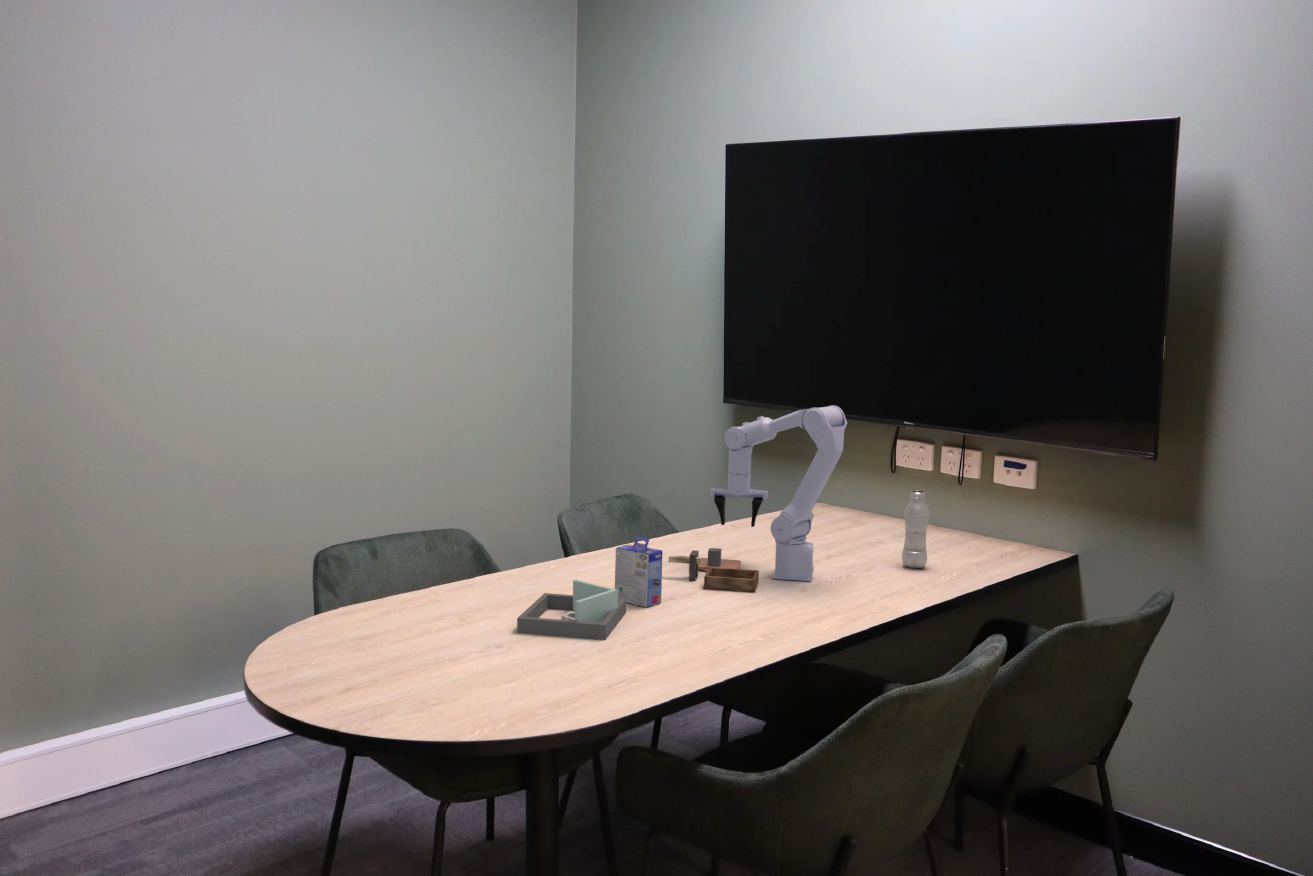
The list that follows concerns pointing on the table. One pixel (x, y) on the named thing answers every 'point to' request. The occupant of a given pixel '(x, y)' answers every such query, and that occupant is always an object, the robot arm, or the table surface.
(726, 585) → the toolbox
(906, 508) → the plastic bottle
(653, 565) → the ink cartridge box
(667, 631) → the table surface
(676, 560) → the tan rectangular bar
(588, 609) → the l-shaped corner panel
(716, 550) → the lid
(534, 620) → the dark gray square frame
